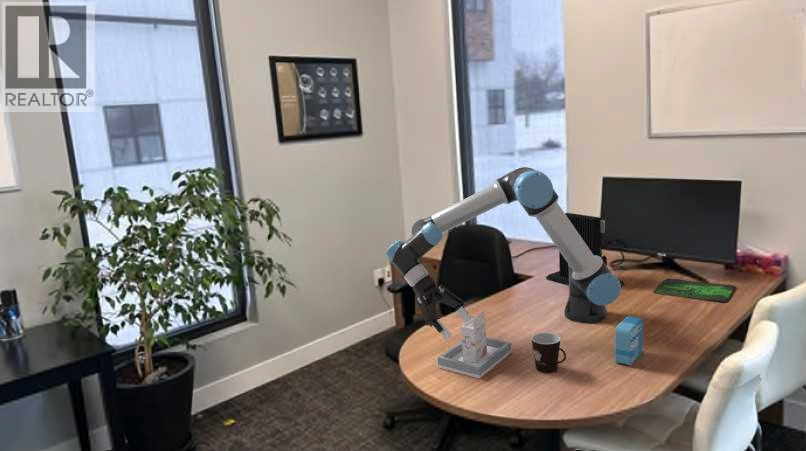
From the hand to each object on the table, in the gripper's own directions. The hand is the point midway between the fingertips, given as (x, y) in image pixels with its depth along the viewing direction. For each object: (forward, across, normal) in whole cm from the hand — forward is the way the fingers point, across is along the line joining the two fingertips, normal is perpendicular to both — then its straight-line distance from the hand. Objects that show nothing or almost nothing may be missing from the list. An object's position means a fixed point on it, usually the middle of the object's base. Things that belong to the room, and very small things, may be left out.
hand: (461, 331), depth 186 cm
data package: (+39, -24, +26) cm, 53 cm away
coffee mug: (+26, -4, +13) cm, 30 cm away
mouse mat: (+42, -98, +29) cm, 111 cm away
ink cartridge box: (+9, 0, -2) cm, 9 cm away
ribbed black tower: (+12, -91, -1) cm, 92 cm away
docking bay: (+10, 0, -3) cm, 10 cm away
